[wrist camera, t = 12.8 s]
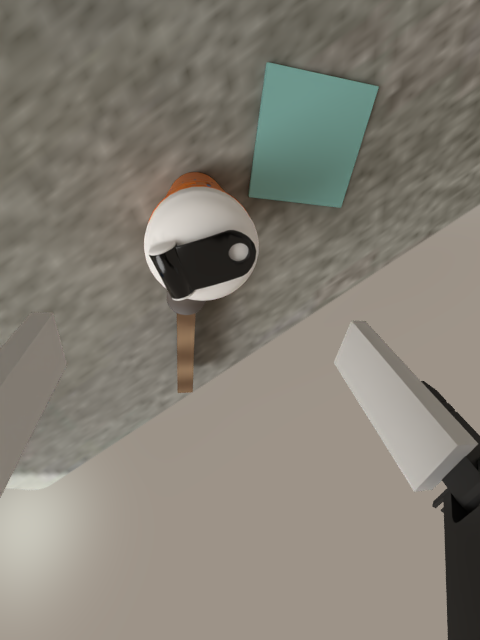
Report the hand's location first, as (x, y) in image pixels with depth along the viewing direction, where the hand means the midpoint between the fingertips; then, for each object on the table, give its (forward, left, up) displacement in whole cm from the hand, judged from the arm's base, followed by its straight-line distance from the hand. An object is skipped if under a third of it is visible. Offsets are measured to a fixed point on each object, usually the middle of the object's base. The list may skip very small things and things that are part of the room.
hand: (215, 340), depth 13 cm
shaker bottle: (0, 0, -29) cm, 29 cm away
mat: (-8, +13, -28) cm, 32 cm away
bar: (+18, -1, -27) cm, 32 cm away
